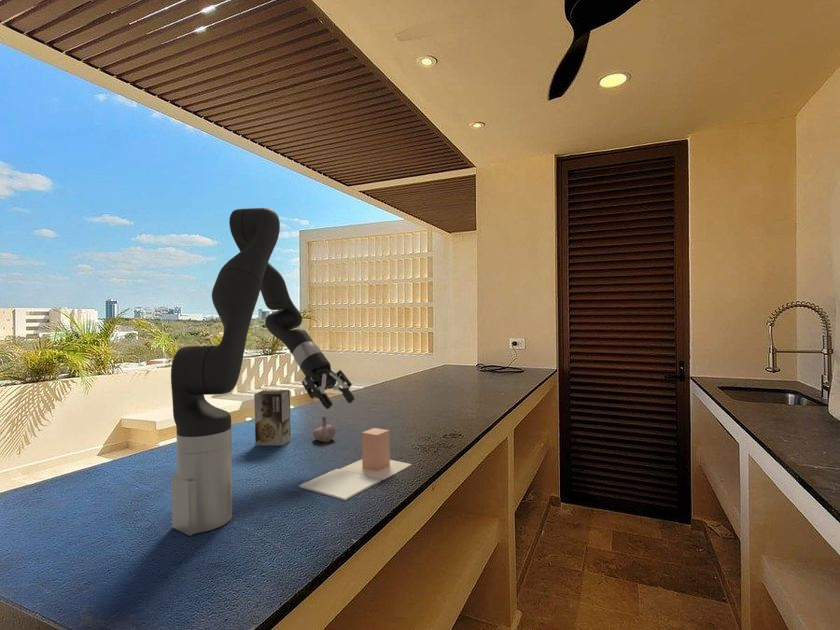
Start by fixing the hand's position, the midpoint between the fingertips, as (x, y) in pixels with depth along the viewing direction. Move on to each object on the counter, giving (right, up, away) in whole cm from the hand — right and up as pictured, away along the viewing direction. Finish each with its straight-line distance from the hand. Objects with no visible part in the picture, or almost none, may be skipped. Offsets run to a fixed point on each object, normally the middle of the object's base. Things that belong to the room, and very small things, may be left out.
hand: (341, 404), depth 112 cm
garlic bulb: (-9, -16, +19) cm, 26 cm away
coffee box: (-25, -16, +17) cm, 34 cm away
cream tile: (+10, -15, -7) cm, 19 cm away
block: (+10, -15, -7) cm, 19 cm away
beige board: (+3, -15, -18) cm, 23 cm away
